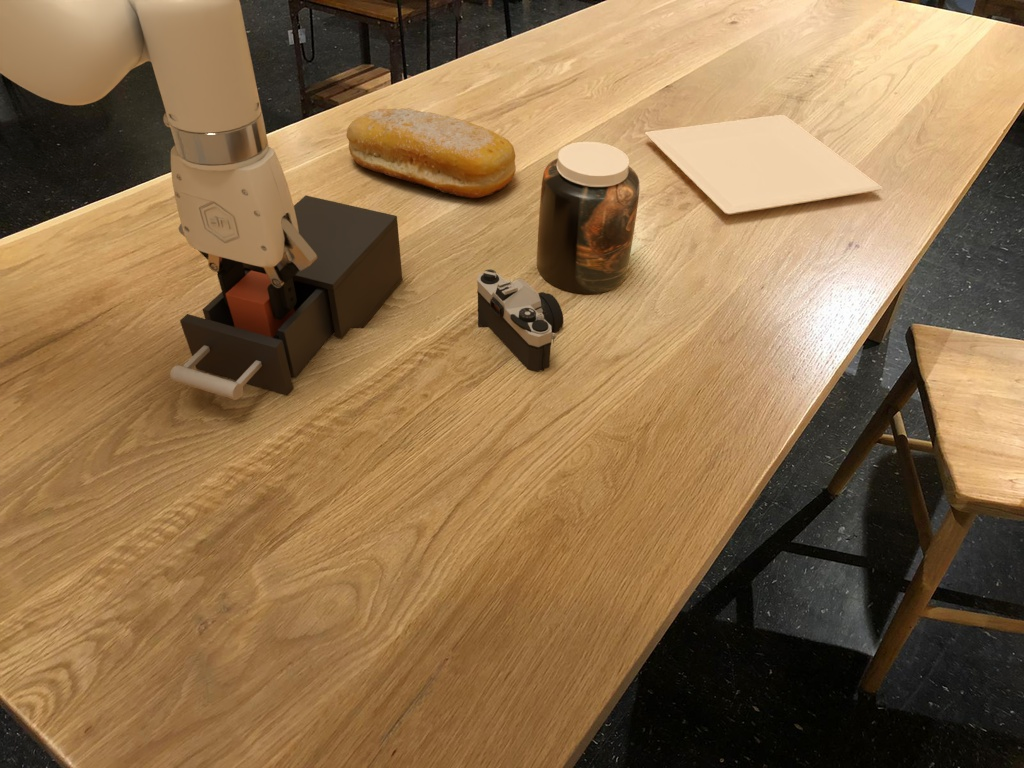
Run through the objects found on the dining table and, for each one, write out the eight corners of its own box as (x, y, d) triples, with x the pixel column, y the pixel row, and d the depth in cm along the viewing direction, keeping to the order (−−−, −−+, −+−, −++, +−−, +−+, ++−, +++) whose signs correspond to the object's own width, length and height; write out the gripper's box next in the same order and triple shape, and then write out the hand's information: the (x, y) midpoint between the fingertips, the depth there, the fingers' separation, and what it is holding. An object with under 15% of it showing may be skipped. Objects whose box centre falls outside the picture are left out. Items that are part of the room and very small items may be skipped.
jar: (522, 280, 95) (527, 169, 85) (553, 234, 103) (561, 127, 93) (613, 303, 92) (630, 191, 82) (638, 254, 100) (656, 146, 90)
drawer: (260, 436, 74) (244, 381, 69) (166, 406, 76) (144, 351, 71) (354, 324, 86) (346, 271, 81) (271, 302, 89) (258, 249, 84)
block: (272, 338, 77) (263, 304, 74) (234, 328, 78) (225, 293, 75) (295, 314, 80) (288, 279, 77) (259, 304, 81) (251, 270, 78)
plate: (780, 124, 130) (784, 112, 129) (879, 199, 112) (884, 186, 111) (642, 142, 124) (644, 130, 122) (723, 225, 106) (726, 212, 104)
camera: (589, 365, 84) (595, 295, 78) (532, 391, 80) (533, 320, 75) (522, 311, 92) (522, 244, 87) (467, 332, 89) (463, 264, 83)
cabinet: (343, 351, 84) (332, 284, 78) (250, 325, 87) (232, 258, 81) (402, 280, 94) (397, 215, 88) (316, 259, 97) (305, 195, 91)
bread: (487, 215, 106) (487, 162, 101) (331, 170, 114) (323, 119, 109) (528, 174, 115) (531, 123, 110) (380, 135, 123) (376, 86, 118)
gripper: (108, 135, 65) (168, 306, 77) (282, 173, 61) (315, 347, 73) (166, 101, 70) (213, 267, 82) (330, 135, 66) (354, 303, 78)
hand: (261, 303), depth 78 cm, fingers open, 5 cm apart
